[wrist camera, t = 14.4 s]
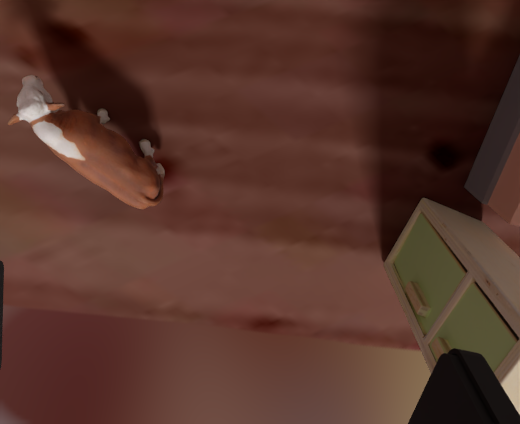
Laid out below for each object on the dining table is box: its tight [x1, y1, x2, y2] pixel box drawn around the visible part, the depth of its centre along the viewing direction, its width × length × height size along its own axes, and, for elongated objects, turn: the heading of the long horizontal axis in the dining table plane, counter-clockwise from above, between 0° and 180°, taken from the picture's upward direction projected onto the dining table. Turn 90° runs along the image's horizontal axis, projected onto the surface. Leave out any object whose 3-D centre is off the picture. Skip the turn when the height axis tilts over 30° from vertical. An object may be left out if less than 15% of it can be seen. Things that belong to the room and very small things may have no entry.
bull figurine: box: [8, 75, 164, 209], centre depth 39 cm, size 4×13×8 cm, turn 45°
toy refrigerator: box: [384, 198, 520, 415], centre depth 36 cm, size 8×7×21 cm
